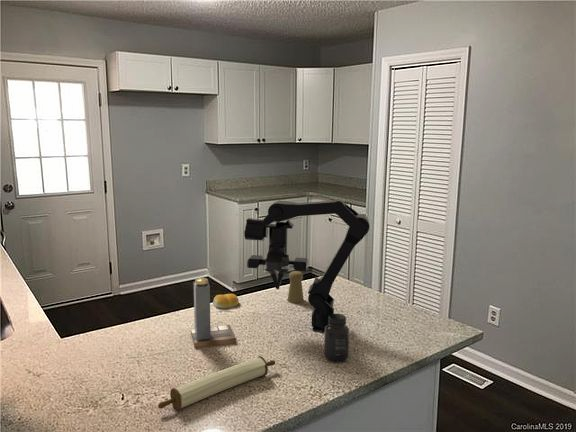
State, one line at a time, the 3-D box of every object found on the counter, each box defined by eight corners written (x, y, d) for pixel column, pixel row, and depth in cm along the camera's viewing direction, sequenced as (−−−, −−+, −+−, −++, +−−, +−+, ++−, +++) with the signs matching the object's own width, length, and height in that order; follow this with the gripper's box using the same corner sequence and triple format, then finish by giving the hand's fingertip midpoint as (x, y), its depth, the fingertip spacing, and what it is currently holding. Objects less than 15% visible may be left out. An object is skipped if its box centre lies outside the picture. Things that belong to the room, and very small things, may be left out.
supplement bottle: (350, 353, 133) (352, 313, 131) (345, 365, 127) (347, 323, 125) (327, 349, 135) (328, 310, 133) (321, 360, 129) (322, 319, 127)
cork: (303, 303, 170) (304, 274, 168) (287, 303, 170) (287, 274, 168) (303, 297, 176) (304, 269, 174) (287, 297, 176) (287, 269, 174)
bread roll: (241, 306, 167) (241, 295, 167) (217, 310, 163) (217, 299, 163) (233, 298, 175) (233, 288, 174) (210, 302, 171) (210, 292, 170)
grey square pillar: (206, 326, 145) (205, 273, 142) (210, 338, 137) (209, 282, 134) (193, 328, 144) (192, 274, 140) (196, 340, 136) (195, 283, 132)
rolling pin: (268, 366, 126) (268, 349, 125) (281, 375, 122) (281, 357, 121) (153, 409, 106) (152, 389, 105) (164, 421, 102) (163, 400, 101)
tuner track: (229, 328, 148) (229, 324, 148) (235, 342, 139) (235, 337, 139) (190, 333, 145) (190, 328, 144) (194, 347, 135) (194, 342, 135)
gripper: (242, 246, 141) (242, 295, 144) (304, 249, 138) (303, 299, 141) (251, 237, 152) (251, 283, 154) (308, 240, 149) (307, 287, 152)
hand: (277, 288), depth 150 cm, fingers closed
